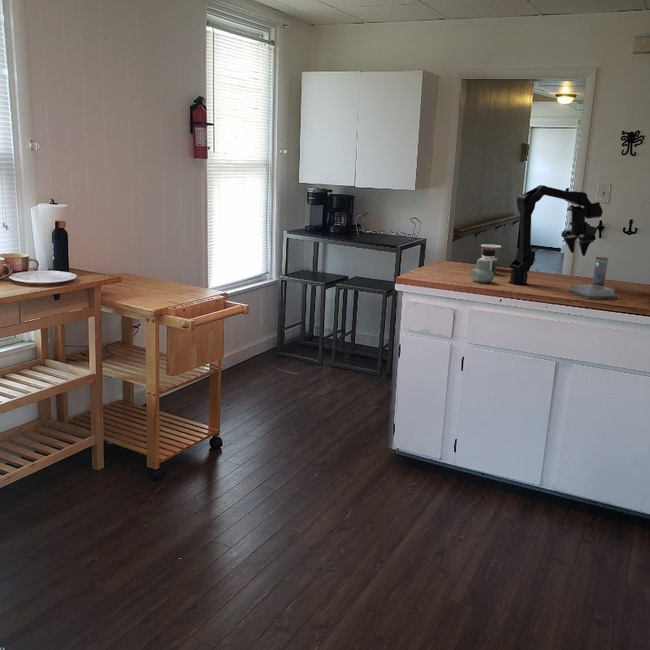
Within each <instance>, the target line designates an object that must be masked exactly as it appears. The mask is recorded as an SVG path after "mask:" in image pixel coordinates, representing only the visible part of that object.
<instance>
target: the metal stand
mask: <svg viewBox="0 0 650 650" xmlns="http://www.w3.org/2000/svg"><path fill="white" fill-rule="evenodd" d="M615 291H616V289H615V288H614V289H613V288H610V287H608V286H607V287H606V286H604V287H603V286H600V285H596V284H590V283H589V284H587V283H586V284H571V289H568V290H567V293H568V292H569V293H568V294H571V293H572V294H571V295H574V294H575V295H574V296H577V295H578V297H580V296H581V298H583V297H584V299H587V298H588V299H587V300H604V298H616V299H618V295H615ZM602 298H603V299H602Z"/></svg>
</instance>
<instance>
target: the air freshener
mask: <svg viewBox="0 0 650 650" xmlns="http://www.w3.org/2000/svg"><path fill="white" fill-rule="evenodd" d="M475 266H476V268H474V269H472V270H471V271H470V278H471V280H473V281H474V282H475V283H482V284H484V283H485V284H488V283H490V282H492V281H493V280H494V279H495V275H496V274H494V273H493V271H491V270H490V260H487V259H480V258H478V259H477V260H476V265H475Z"/></svg>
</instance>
